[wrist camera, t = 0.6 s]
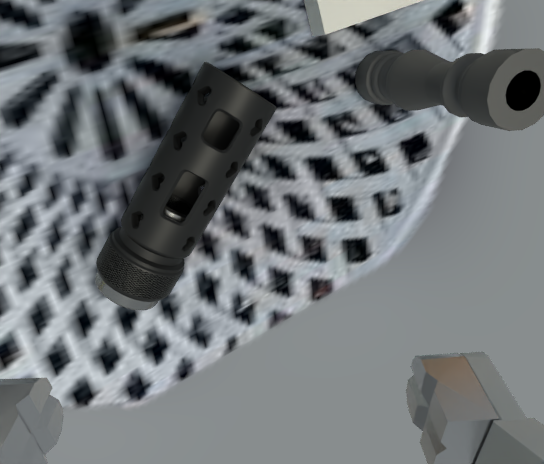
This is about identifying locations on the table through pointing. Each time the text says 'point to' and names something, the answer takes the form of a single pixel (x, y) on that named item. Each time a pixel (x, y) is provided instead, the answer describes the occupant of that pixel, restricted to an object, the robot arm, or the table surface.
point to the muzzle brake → (181, 189)
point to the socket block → (347, 12)
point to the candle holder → (459, 84)
